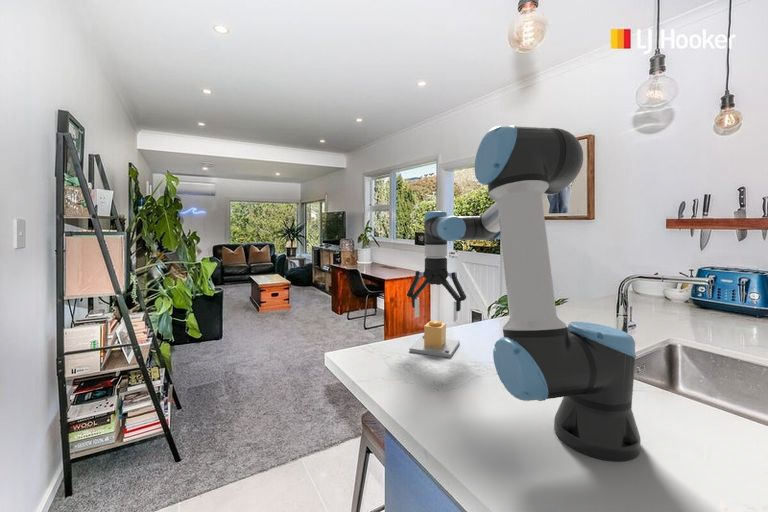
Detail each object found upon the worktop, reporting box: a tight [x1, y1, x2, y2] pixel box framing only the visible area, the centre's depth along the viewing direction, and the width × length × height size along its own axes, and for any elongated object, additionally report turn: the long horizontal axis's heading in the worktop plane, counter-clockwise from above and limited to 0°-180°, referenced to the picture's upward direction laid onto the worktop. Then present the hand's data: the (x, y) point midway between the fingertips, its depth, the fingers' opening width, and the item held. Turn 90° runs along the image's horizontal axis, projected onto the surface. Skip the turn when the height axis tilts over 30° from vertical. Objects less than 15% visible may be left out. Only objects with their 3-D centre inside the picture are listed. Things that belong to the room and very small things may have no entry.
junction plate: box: [408, 335, 461, 359], centre depth 125 cm, size 14×14×6 cm
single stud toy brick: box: [423, 320, 447, 348], centre depth 125 cm, size 6×6×8 cm
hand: (435, 318), depth 124 cm, fingers open, 13 cm apart
